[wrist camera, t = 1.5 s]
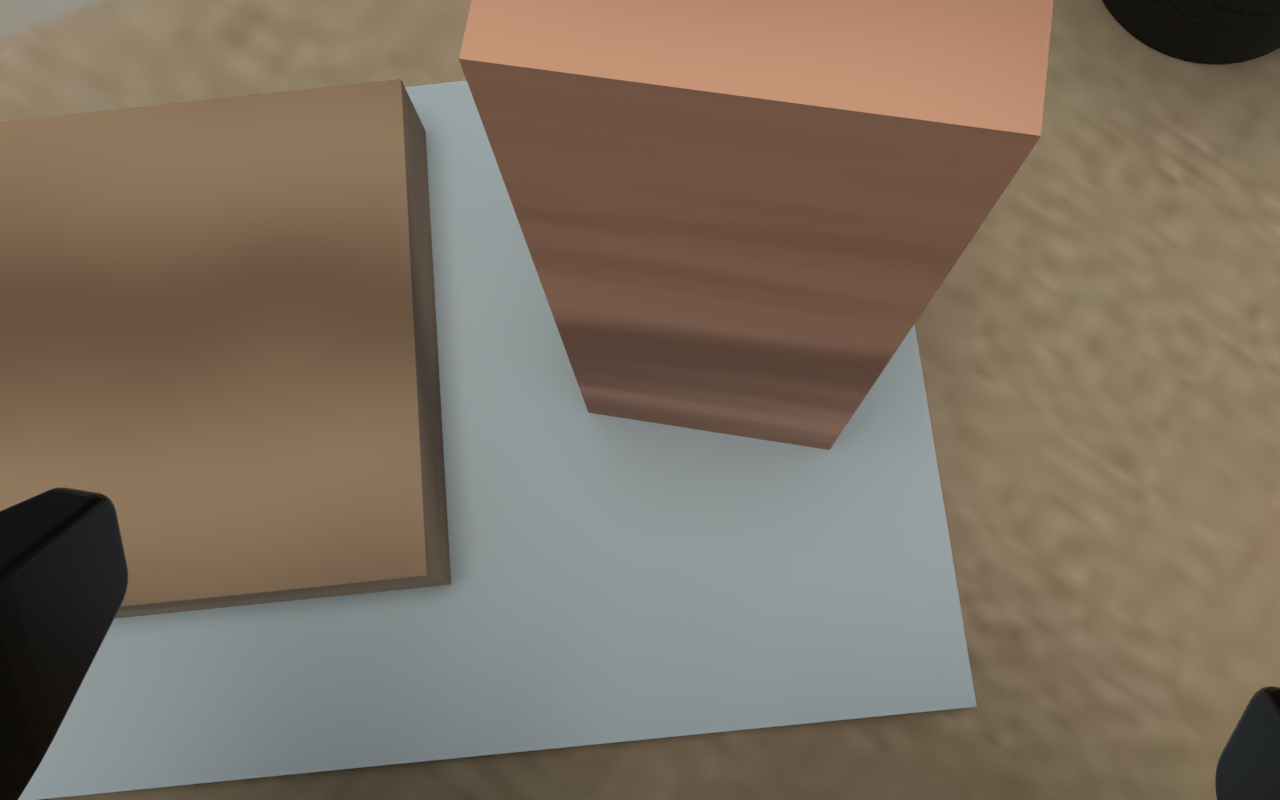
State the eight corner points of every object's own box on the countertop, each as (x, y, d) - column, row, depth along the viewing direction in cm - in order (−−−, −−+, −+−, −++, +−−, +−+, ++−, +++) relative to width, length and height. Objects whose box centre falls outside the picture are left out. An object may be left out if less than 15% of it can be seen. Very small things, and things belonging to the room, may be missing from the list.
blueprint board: (962, 705, 20) (976, 706, 19) (-15, 801, 21) (-49, 808, 20) (861, 63, 23) (868, 37, 23) (10, 154, 24) (-18, 132, 23)
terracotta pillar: (829, 450, 21) (1041, 135, 8) (588, 412, 21) (458, 57, 9) (858, 223, 22) (1086, -349, 9) (628, 190, 22) (562, -402, 10)
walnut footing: (451, 583, 20) (426, 575, 18) (-41, 634, 20) (-117, 630, 18) (425, 130, 22) (400, 79, 20) (-21, 177, 23) (-87, 131, 21)
